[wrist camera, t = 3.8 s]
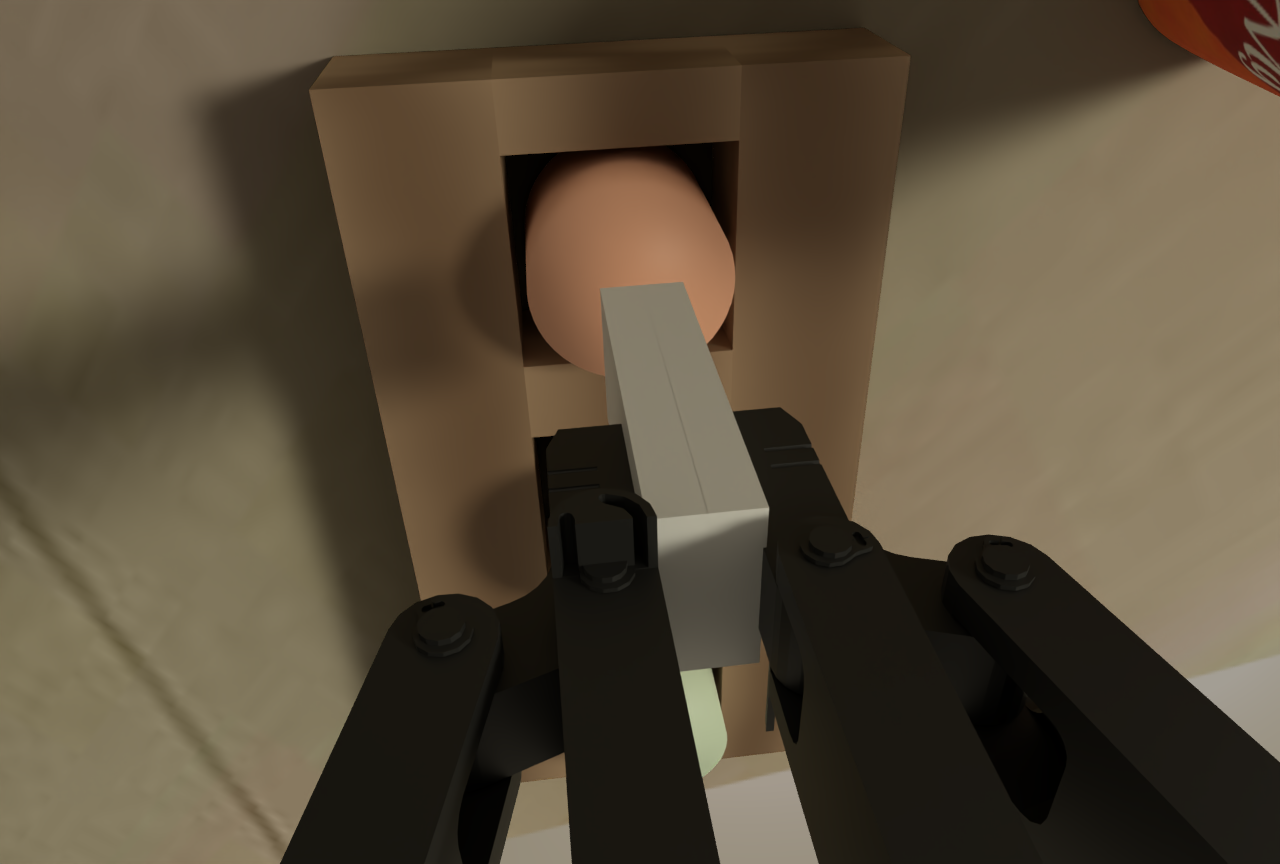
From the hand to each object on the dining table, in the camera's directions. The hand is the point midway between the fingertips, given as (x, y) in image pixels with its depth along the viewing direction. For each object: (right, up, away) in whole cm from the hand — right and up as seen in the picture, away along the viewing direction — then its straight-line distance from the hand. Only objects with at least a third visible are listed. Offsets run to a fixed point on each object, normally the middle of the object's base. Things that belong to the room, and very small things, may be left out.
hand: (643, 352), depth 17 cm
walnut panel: (-1, -2, +10) cm, 10 cm away
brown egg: (-1, +4, +5) cm, 6 cm away
